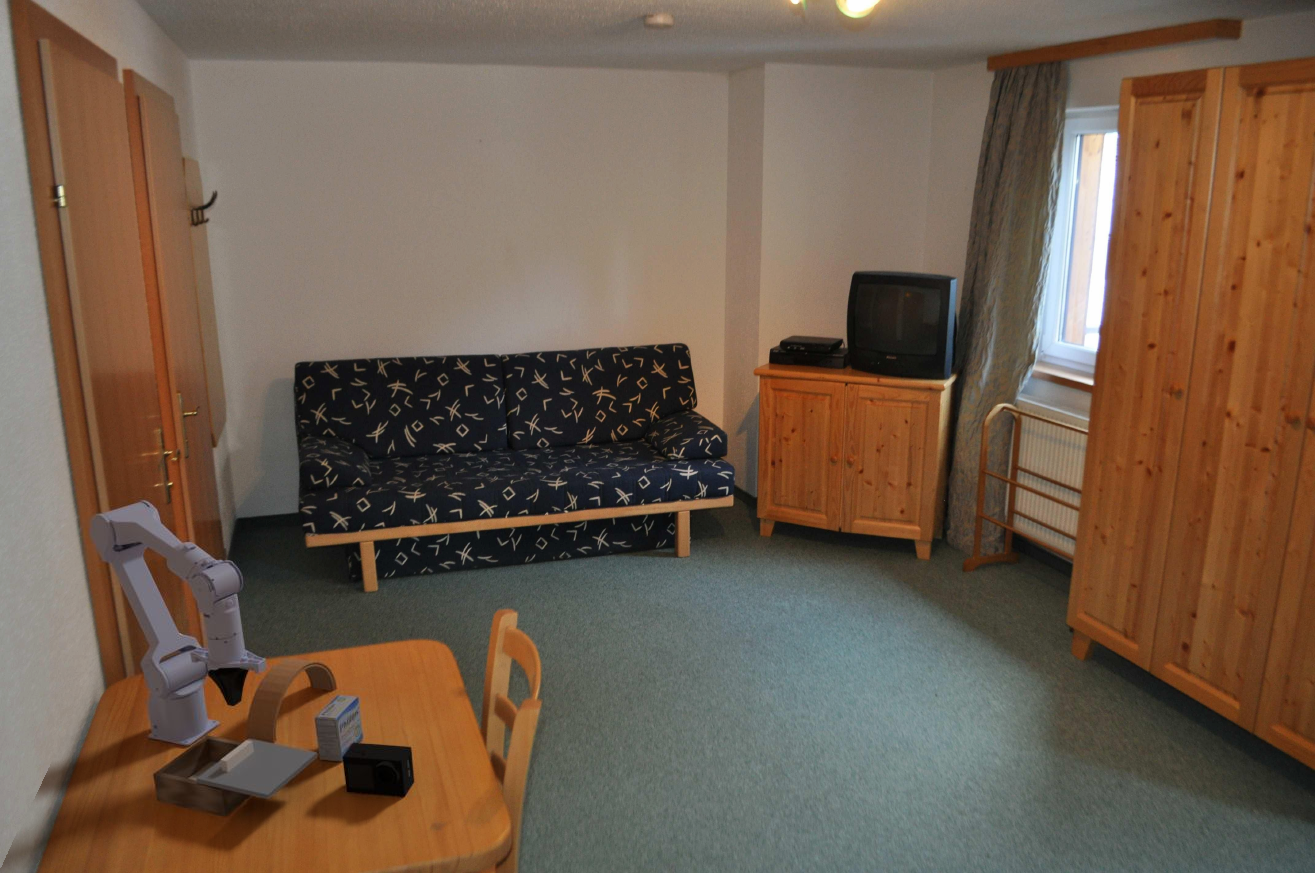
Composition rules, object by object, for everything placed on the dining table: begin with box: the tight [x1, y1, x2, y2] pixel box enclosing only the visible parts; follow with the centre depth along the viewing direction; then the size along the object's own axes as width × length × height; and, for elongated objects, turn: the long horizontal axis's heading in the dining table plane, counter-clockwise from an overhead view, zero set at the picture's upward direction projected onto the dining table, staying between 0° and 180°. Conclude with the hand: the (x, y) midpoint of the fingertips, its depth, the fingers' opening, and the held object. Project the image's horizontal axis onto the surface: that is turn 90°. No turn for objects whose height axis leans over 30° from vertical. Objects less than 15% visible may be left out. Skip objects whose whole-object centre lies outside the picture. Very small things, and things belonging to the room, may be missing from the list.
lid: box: [196, 738, 318, 800], centre depth 159 cm, size 14×12×3 cm
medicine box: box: [314, 694, 364, 763], centre depth 173 cm, size 8×4×9 cm, turn 168°
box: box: [152, 734, 252, 818], centre depth 163 cm, size 14×12×5 cm
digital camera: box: [342, 742, 415, 798], centre depth 162 cm, size 10×5×7 cm, turn 82°
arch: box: [246, 658, 338, 744], centre depth 185 cm, size 6×20×10 cm, turn 164°
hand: (234, 702), depth 170 cm, fingers closed
